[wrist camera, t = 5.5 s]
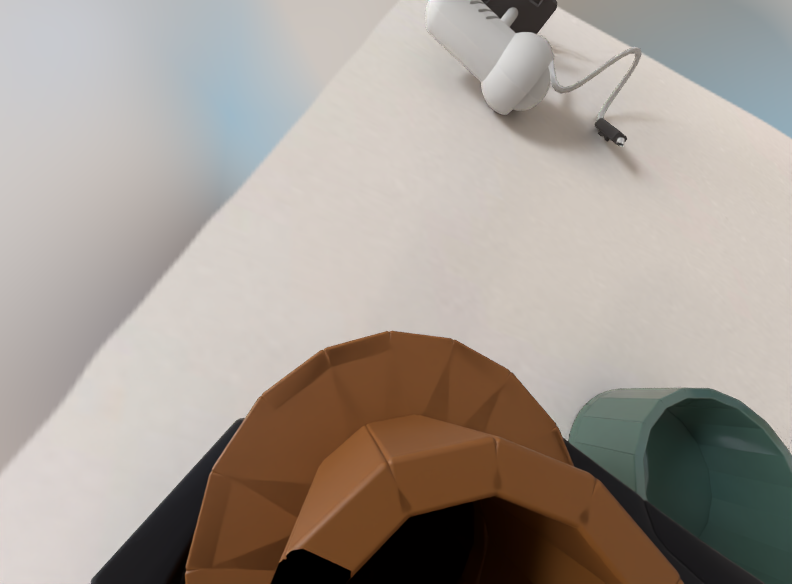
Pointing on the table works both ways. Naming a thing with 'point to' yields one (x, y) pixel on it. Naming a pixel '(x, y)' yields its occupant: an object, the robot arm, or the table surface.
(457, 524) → the bottle
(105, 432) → the table surface
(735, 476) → the cup
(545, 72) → the clip-on lamp
